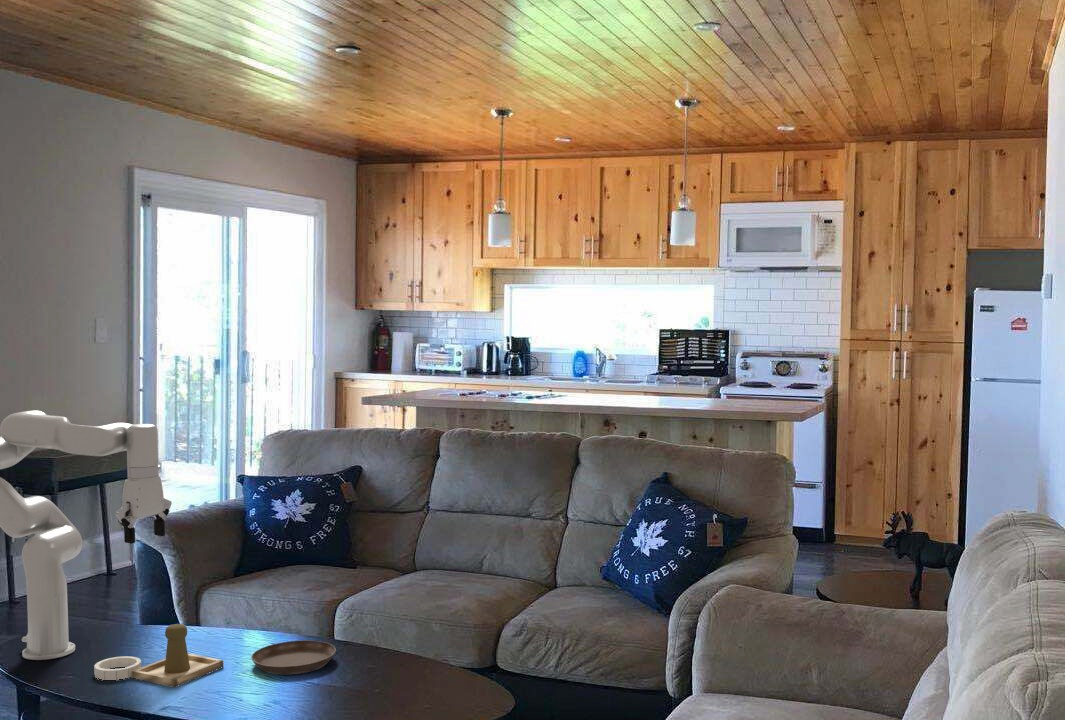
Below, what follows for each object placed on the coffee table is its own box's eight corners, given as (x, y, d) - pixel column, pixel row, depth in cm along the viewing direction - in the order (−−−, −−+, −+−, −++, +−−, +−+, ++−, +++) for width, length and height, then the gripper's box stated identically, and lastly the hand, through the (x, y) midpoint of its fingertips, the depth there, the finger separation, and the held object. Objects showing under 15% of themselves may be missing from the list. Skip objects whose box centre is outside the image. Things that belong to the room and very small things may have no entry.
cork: (182, 674, 263) (181, 629, 262) (159, 672, 264) (158, 628, 263) (194, 665, 268) (193, 622, 268) (172, 664, 270) (171, 620, 269)
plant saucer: (234, 673, 266) (233, 659, 266) (283, 648, 285) (283, 635, 285) (305, 683, 259) (305, 669, 258) (351, 657, 278) (351, 644, 278)
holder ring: (85, 676, 264) (85, 666, 264) (120, 663, 273) (120, 654, 273) (115, 683, 259) (115, 673, 259) (150, 670, 268) (150, 660, 268)
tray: (132, 678, 262) (132, 671, 262) (182, 659, 276) (182, 652, 276) (174, 687, 256) (174, 679, 256) (223, 667, 270) (223, 660, 270)
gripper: (158, 467, 286) (160, 531, 287) (105, 476, 271) (107, 544, 272) (179, 469, 283) (181, 534, 284) (126, 478, 268) (128, 547, 268)
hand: (144, 539), depth 278 cm, fingers open, 9 cm apart
